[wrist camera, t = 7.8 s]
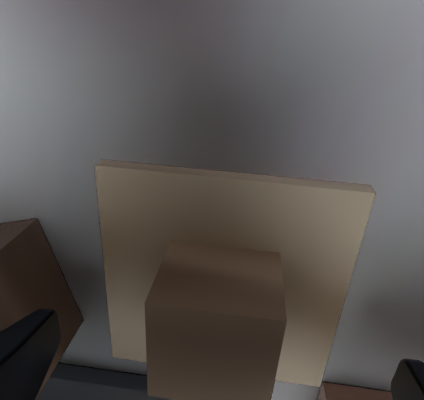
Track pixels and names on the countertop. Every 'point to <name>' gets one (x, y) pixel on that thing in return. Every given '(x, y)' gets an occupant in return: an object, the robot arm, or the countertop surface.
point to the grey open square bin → (94, 385)
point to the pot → (351, 393)
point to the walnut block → (34, 282)
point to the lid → (226, 275)
